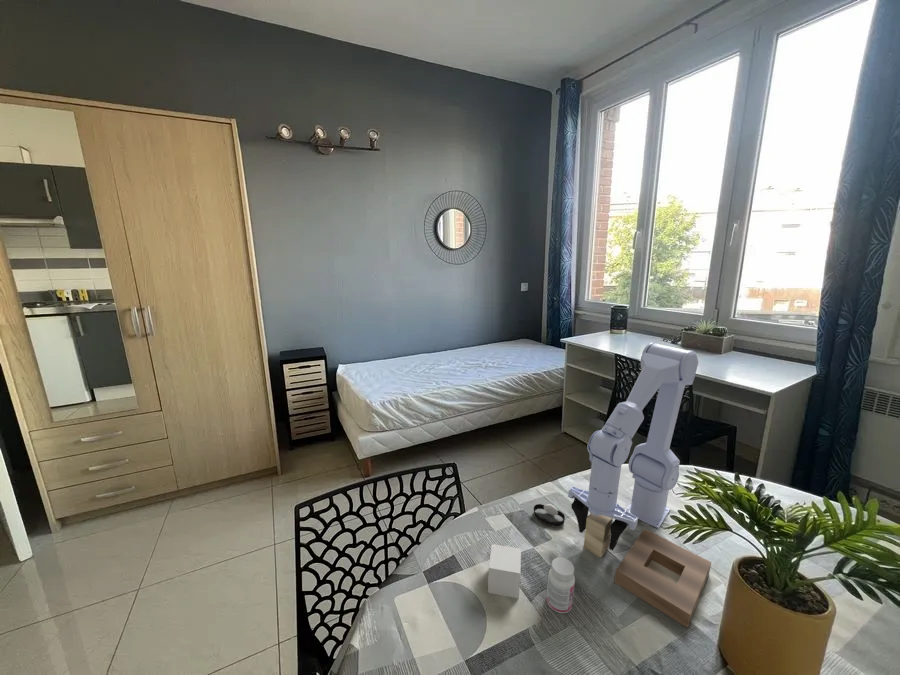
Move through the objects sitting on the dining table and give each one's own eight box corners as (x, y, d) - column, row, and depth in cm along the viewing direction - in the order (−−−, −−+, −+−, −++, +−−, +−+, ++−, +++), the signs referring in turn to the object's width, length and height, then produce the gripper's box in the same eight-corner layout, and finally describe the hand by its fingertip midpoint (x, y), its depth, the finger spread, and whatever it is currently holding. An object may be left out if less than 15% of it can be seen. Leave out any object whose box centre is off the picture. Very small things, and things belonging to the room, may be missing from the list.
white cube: (490, 567, 78) (491, 543, 77) (519, 572, 77) (521, 548, 76) (487, 593, 72) (488, 567, 71) (518, 598, 71) (520, 573, 70)
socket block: (642, 539, 86) (644, 528, 85) (708, 574, 77) (711, 562, 76) (614, 581, 75) (615, 569, 74) (687, 628, 66) (690, 614, 65)
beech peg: (591, 537, 86) (595, 508, 84) (608, 547, 84) (612, 517, 82) (583, 547, 84) (586, 517, 82) (600, 557, 81) (604, 526, 79)
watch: (566, 520, 92) (567, 507, 91) (561, 532, 88) (562, 519, 87) (536, 508, 96) (537, 496, 95) (530, 519, 92) (531, 506, 91)
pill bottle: (573, 616, 68) (577, 579, 66) (546, 611, 69) (550, 574, 67) (570, 593, 72) (574, 557, 70) (545, 589, 73) (548, 553, 71)
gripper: (563, 478, 82) (558, 530, 85) (631, 511, 72) (623, 568, 75) (578, 465, 87) (573, 515, 90) (644, 494, 77) (636, 549, 80)
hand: (597, 538), depth 83 cm, fingers open, 6 cm apart
